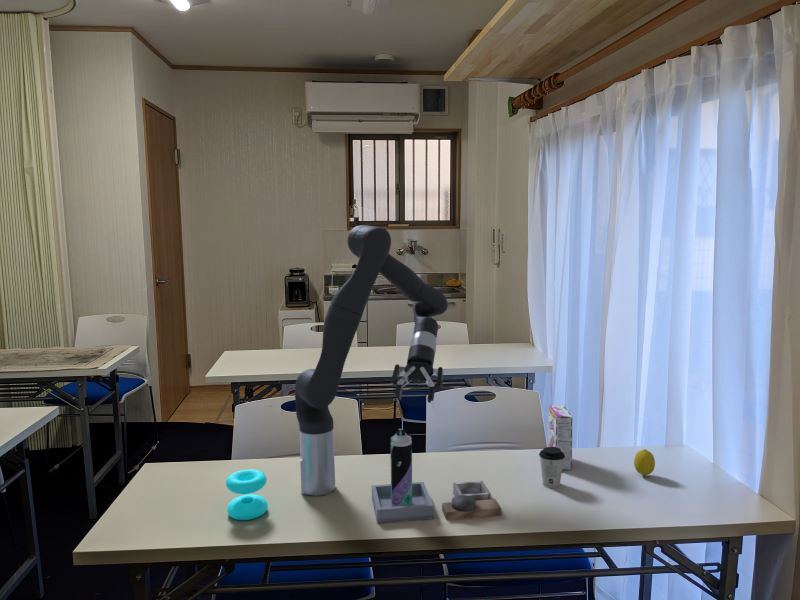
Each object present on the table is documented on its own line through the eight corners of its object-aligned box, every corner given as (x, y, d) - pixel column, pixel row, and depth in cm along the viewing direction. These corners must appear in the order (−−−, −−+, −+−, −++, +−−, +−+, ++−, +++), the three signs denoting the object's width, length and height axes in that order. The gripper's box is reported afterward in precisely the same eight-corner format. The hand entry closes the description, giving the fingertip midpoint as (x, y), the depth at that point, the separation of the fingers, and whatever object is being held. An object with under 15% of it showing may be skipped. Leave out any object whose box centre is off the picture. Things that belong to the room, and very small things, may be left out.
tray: (377, 523, 154) (377, 509, 154) (371, 497, 168) (371, 485, 167) (433, 518, 156) (433, 505, 155) (423, 494, 170) (423, 481, 169)
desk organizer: (446, 520, 155) (446, 507, 154) (435, 494, 169) (435, 482, 169) (501, 516, 157) (501, 503, 156) (485, 491, 171) (485, 478, 171)
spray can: (397, 510, 158) (396, 434, 156) (387, 502, 163) (386, 427, 160) (416, 505, 161) (415, 430, 158) (406, 497, 166) (405, 424, 163)
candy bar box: (546, 455, 195) (547, 404, 193) (563, 455, 195) (564, 404, 193) (554, 470, 184) (556, 416, 182) (572, 470, 184) (573, 416, 182)
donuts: (220, 473, 161) (258, 464, 166) (222, 510, 162) (260, 500, 167) (232, 487, 152) (272, 477, 157) (234, 526, 154) (273, 515, 159)
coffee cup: (554, 492, 170) (555, 457, 168) (533, 484, 175) (533, 449, 174) (569, 484, 174) (570, 450, 173) (548, 477, 180) (548, 443, 178)
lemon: (655, 474, 180) (657, 447, 179) (652, 481, 176) (653, 454, 175) (635, 470, 183) (637, 444, 182) (631, 477, 179) (632, 450, 178)
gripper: (396, 342, 181) (386, 391, 171) (445, 344, 178) (437, 395, 168) (400, 356, 187) (391, 405, 177) (448, 358, 184) (441, 408, 174)
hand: (413, 400), depth 173 cm, fingers open, 8 cm apart
